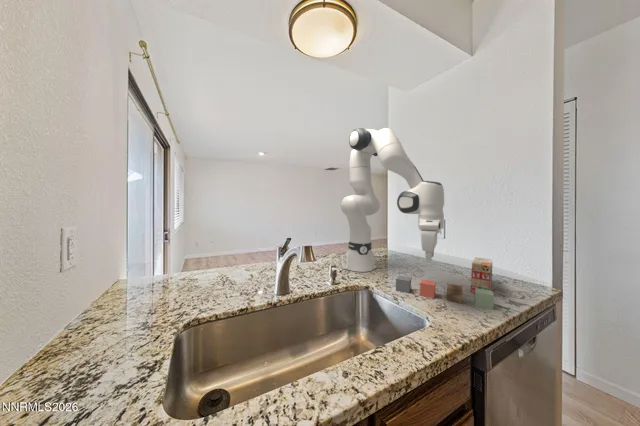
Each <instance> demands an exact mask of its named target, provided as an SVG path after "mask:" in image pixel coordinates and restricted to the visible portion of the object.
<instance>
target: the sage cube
mask: <svg viewBox="0 0 640 426" xmlns="http://www.w3.org/2000/svg"><path fill="white" fill-rule="evenodd" d="M494 301H495V294H494V291H492V290H484V289H478V288H475V293H474V307H476V308H482V309H486V310H494Z"/></svg>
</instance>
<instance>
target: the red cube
mask: <svg viewBox="0 0 640 426" xmlns="http://www.w3.org/2000/svg"><path fill="white" fill-rule="evenodd" d="M436 282H437V281H435V280H429V279H421V280H420V283H419V296H421V297H426V298H429V299H435V297H436V285H437V284H436Z"/></svg>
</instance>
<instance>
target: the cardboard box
mask: <svg viewBox="0 0 640 426" xmlns="http://www.w3.org/2000/svg"><path fill="white" fill-rule="evenodd" d="M470 279H471V281H470V282H471V283H470V293H473V294H475V288H478V289H484V290H490V291H492V290H491V288H492V285H493V283H492V282H493V281H492V280H493V259H491V258H482V257H474V260H473V261H472V263H471V278H470Z"/></svg>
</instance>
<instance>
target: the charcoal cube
mask: <svg viewBox="0 0 640 426" xmlns="http://www.w3.org/2000/svg"><path fill="white" fill-rule="evenodd" d="M411 290H412V277H409V276H405V275H398V276H397V277H396V278H395V292H399V291H400V292H399V293H404V292H405V294H409V293H411Z"/></svg>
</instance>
